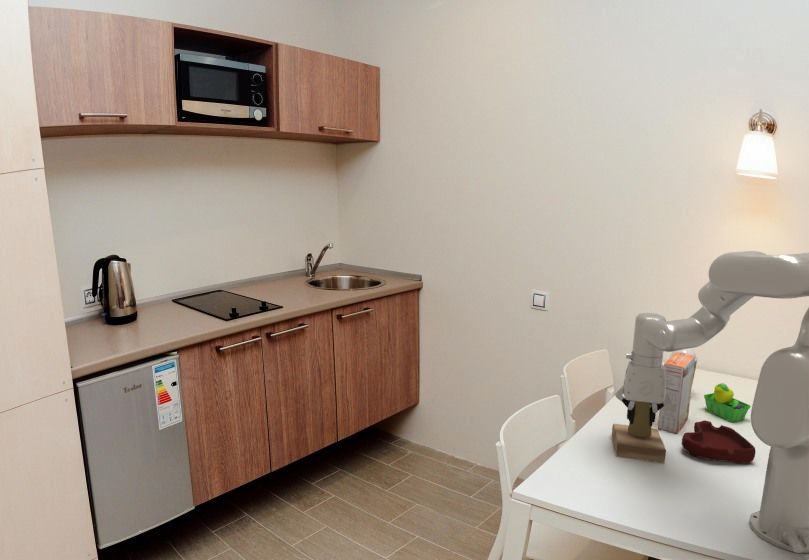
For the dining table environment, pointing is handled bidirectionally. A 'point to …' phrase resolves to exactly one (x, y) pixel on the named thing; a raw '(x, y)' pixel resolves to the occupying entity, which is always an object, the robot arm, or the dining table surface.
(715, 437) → the ashtray
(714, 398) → the fruit basket
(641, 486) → the dining table surface
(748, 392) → the dining table surface
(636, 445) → the walnut stand
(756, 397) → the robot arm
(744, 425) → the dining table surface
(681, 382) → the cracker box
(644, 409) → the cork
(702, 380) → the dining table surface
